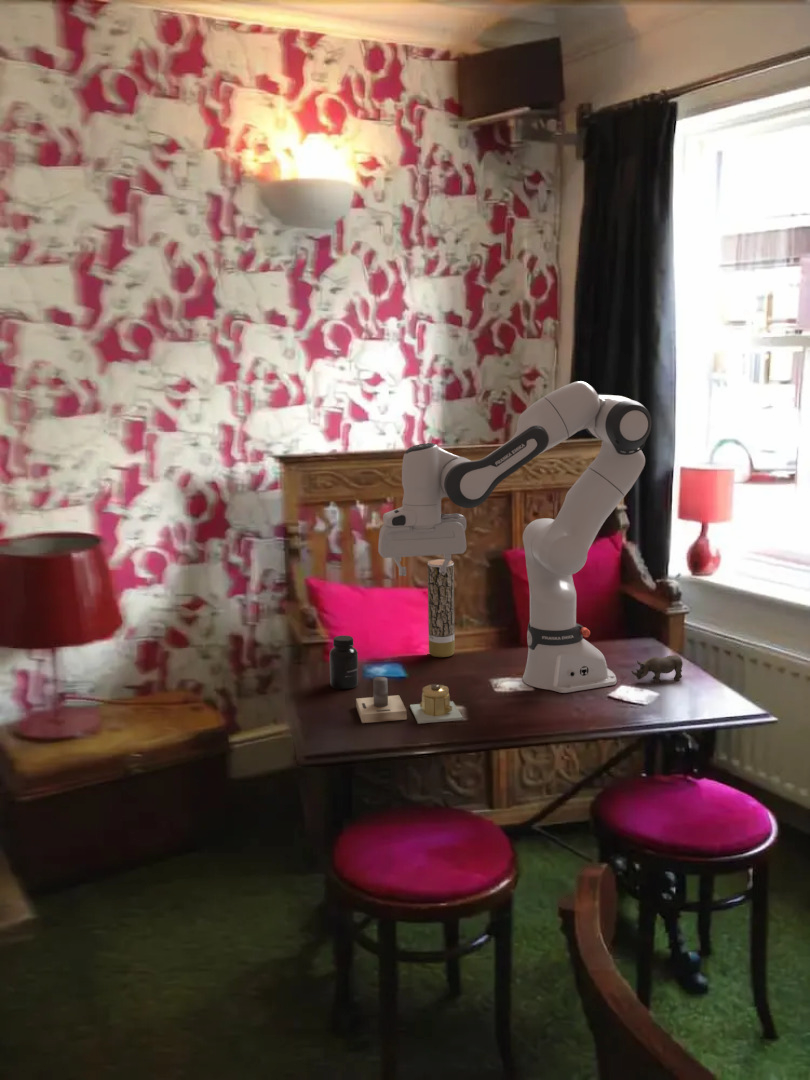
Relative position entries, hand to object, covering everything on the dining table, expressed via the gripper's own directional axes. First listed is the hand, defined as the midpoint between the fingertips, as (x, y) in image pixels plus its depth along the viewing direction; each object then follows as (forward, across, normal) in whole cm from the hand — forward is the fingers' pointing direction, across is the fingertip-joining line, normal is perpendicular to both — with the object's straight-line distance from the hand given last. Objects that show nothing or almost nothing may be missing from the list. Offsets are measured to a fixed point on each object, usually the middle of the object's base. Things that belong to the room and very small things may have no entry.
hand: (422, 574), depth 234 cm
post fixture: (+29, +12, +10) cm, 33 cm away
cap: (+28, 0, +13) cm, 31 cm away
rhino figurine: (+29, -57, +3) cm, 64 cm away
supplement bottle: (+29, +18, -10) cm, 36 cm away
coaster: (+29, 0, +13) cm, 32 cm away
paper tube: (+29, -10, -28) cm, 42 cm away
